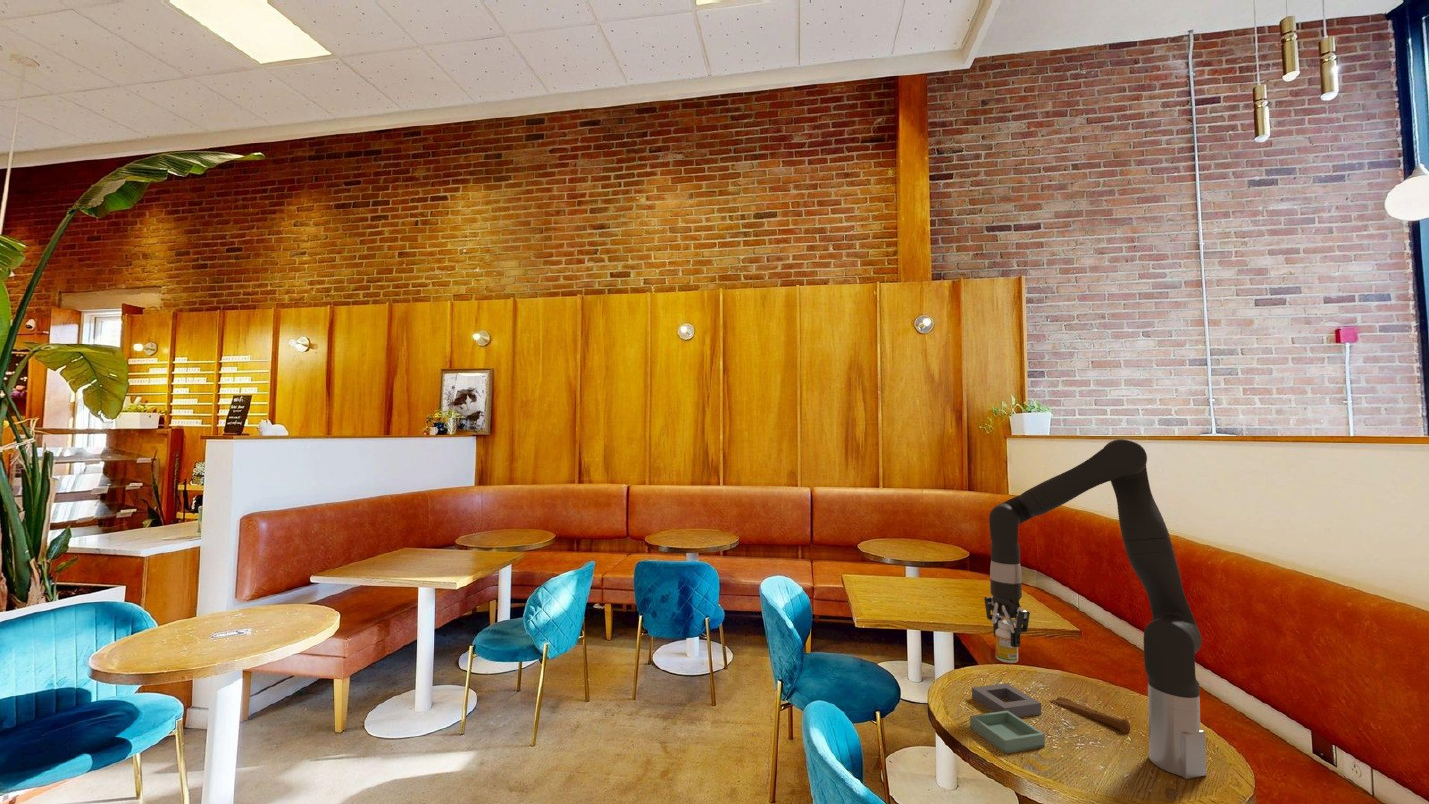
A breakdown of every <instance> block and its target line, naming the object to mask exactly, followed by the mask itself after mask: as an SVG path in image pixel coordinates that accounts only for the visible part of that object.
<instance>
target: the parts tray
mask: <svg viewBox="0 0 1429 804" xmlns="http://www.w3.org/2000/svg"><path fill="white" fill-rule="evenodd" d="M969 716H970V717H969V720H970V721H969V728H970V729H971V730H972V731H974V732H975V733H976V734H978V735H979V736H981V737H982V738H983V739H985V740H986V741H987V742H989V744H992V745H993V746H994V745H995V746H994V747H995V748H997V749H998V748H999V749H998V750H999V751H1001V752H1002V751H1003V752H1002V753H1004V754H1005V753H1006V754H1011V753H1017V752H1022V751H1028V750H1029V751H1030V750H1034V749H1035V750H1036V749H1040V748H1045V747H1046V743H1045V742H1046V740H1045V739H1046V734H1045V733H1043V732H1042V731H1040V730H1039V729H1037V728H1036V727H1035V726H1032V725H1031V724H1030V723H1027V722H1026V721H1024V720H1023V719H1022V718H1018V717H1017V716H1015V715H1014V714H1012V713H1011V712H1009V711H1000V712H988V713H980V714H975V715H974V714H973V715H969Z"/></svg>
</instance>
